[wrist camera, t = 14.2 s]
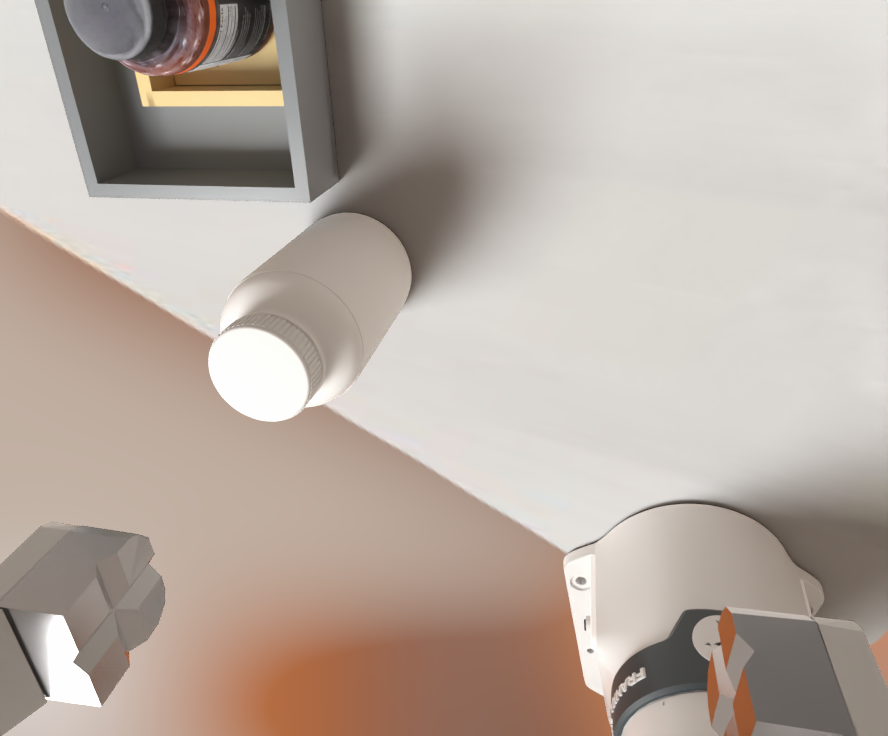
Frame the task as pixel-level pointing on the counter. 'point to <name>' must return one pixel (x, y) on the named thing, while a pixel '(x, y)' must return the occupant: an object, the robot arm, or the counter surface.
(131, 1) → the supplement bottle
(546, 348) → the counter surface
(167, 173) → the walled box
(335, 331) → the pill bottle
